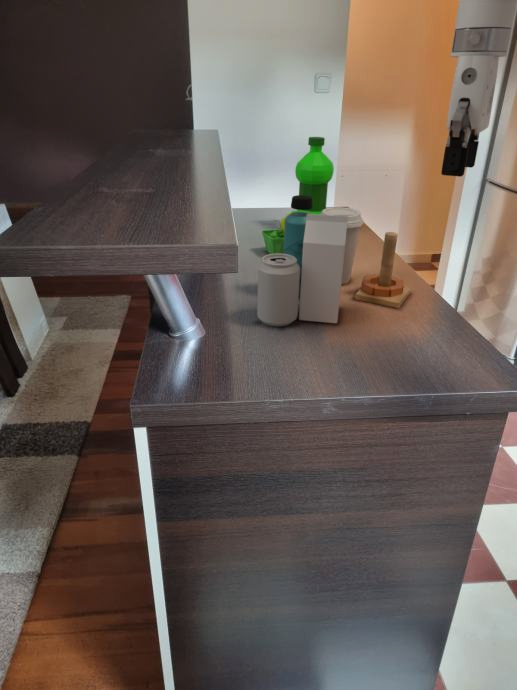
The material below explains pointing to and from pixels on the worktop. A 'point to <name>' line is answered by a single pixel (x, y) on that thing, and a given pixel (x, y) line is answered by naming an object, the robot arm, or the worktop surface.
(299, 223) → the beverage bottle
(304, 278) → the milk carton
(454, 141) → the robot arm
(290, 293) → the can
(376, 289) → the ring
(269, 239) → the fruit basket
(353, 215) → the coffee cup
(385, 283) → the post
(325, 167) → the plastic bottle
